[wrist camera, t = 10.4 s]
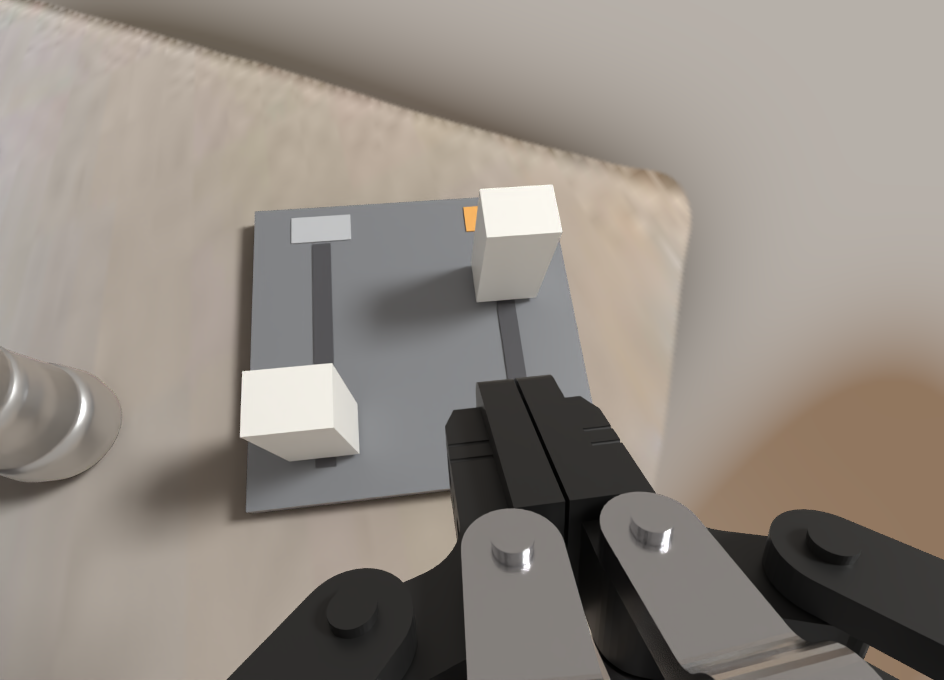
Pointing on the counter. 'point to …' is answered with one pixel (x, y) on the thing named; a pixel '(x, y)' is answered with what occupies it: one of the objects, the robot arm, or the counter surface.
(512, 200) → the block
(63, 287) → the counter surface
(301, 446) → the tab inner
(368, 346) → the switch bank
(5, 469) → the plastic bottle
